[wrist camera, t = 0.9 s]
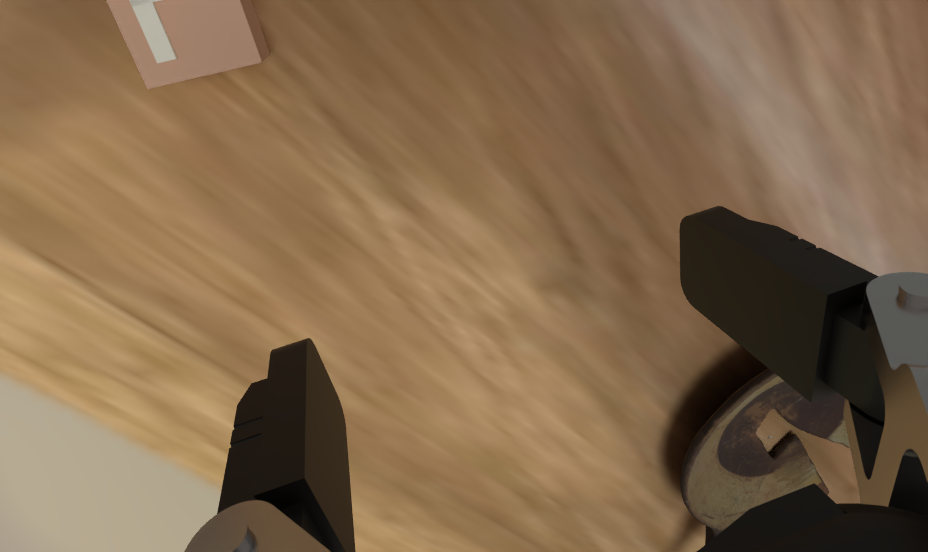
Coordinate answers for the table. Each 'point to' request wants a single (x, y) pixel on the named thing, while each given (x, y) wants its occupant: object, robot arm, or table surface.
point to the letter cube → (189, 37)
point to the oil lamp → (754, 451)
